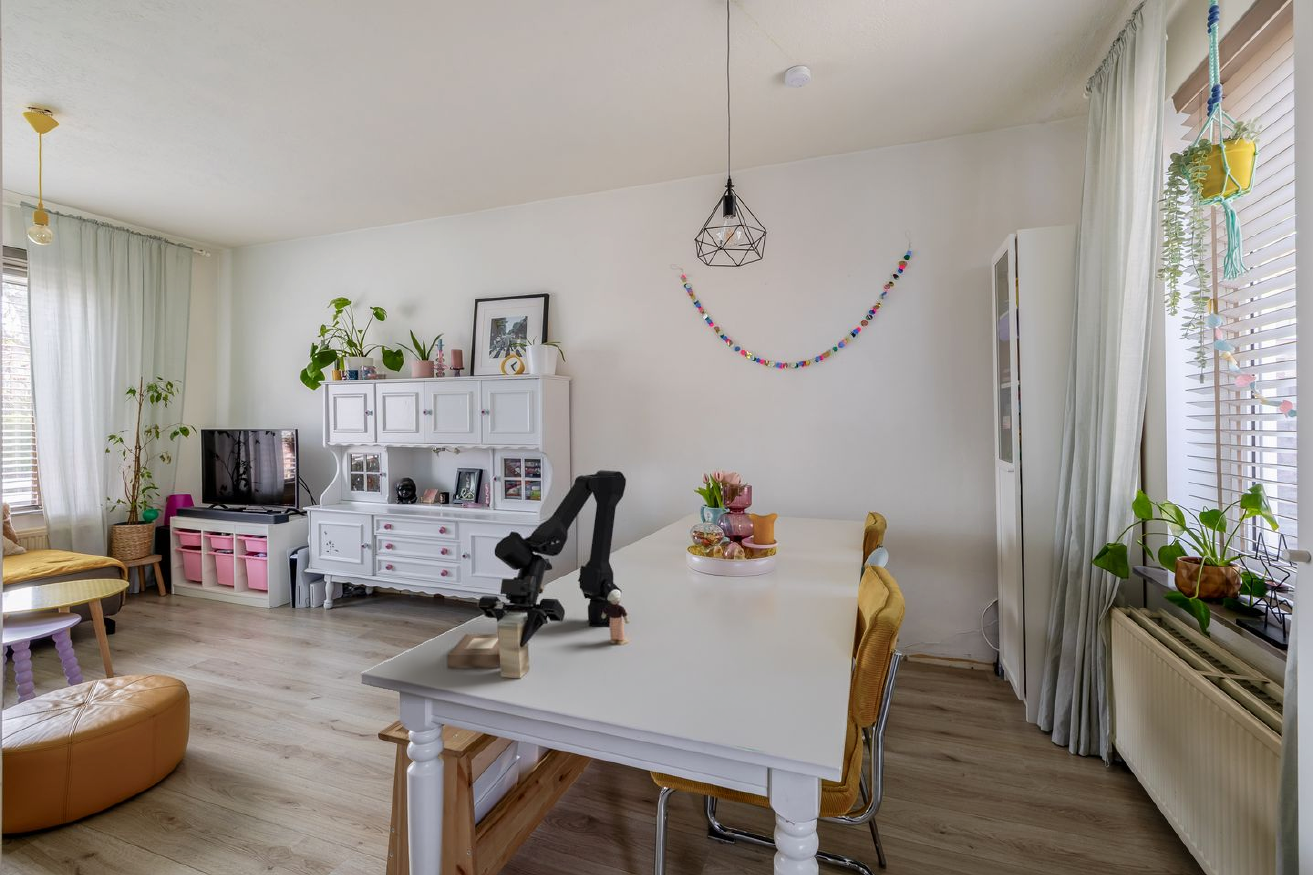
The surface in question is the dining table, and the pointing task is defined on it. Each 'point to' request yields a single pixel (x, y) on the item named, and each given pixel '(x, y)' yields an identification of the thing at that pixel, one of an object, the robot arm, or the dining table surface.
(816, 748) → the dining table surface
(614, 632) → the grandmother figurine
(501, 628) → the oak column
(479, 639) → the plinth
